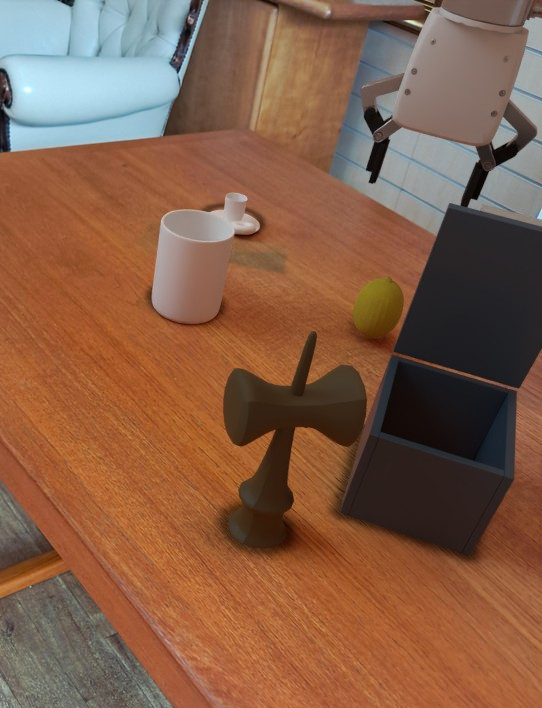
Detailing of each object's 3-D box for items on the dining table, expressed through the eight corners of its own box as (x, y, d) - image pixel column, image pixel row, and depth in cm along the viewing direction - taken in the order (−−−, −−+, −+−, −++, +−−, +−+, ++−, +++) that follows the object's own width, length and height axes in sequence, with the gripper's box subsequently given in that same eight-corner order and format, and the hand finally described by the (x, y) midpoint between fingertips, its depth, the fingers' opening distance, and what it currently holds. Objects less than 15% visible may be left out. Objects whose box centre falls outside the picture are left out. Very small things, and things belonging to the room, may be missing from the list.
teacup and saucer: (256, 244, 110) (263, 215, 108) (201, 233, 111) (205, 204, 108) (261, 219, 117) (267, 192, 114) (208, 209, 117) (213, 181, 114)
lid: (600, 246, 60) (601, 212, 63) (448, 207, 62) (456, 176, 65) (519, 389, 71) (523, 354, 74) (392, 352, 73) (402, 319, 76)
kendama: (318, 558, 66) (395, 355, 53) (208, 564, 64) (259, 355, 51) (296, 508, 71) (362, 309, 57) (192, 513, 68) (235, 307, 55)
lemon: (335, 334, 94) (355, 273, 89) (362, 322, 98) (382, 261, 92) (373, 356, 92) (395, 294, 86) (399, 342, 95) (422, 281, 90)
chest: (466, 563, 68) (514, 479, 62) (336, 520, 70) (369, 433, 63) (474, 472, 78) (517, 390, 71) (360, 436, 80) (391, 353, 73)
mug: (161, 272, 100) (171, 191, 93) (225, 284, 100) (240, 204, 93) (145, 318, 91) (155, 233, 84) (215, 331, 91) (231, 247, 84)
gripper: (582, 18, 72) (502, 202, 84) (396, -24, 75) (344, 159, 86) (586, 33, 67) (500, 227, 78) (386, -13, 69) (331, 181, 81)
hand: (418, 191), depth 82 cm, fingers open, 9 cm apart
